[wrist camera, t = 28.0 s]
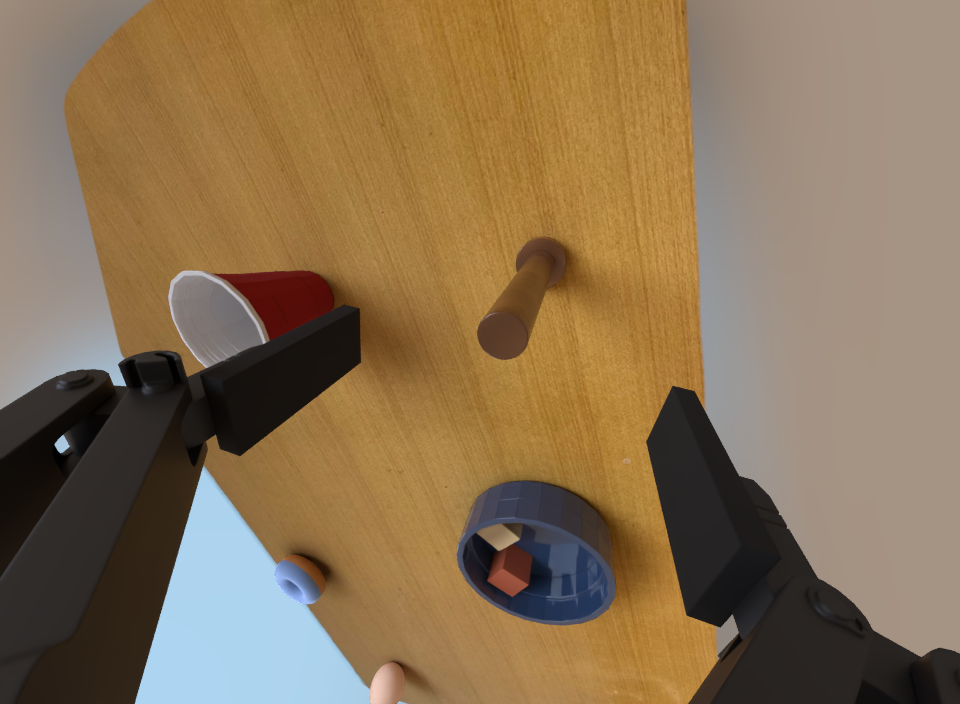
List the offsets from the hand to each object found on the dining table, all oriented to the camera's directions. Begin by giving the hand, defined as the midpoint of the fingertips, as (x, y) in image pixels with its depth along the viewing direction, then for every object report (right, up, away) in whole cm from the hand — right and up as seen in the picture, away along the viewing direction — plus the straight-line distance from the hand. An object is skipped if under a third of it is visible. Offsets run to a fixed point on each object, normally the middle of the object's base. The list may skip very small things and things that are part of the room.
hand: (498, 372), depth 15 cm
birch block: (+2, -20, +31) cm, 37 cm away
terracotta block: (+4, -28, +34) cm, 44 cm away
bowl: (+7, -23, +32) cm, 40 cm away
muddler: (+5, +9, +17) cm, 20 cm away
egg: (-19, -66, +60) cm, 91 cm away
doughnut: (-33, -40, +52) cm, 74 cm away
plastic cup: (-20, +7, +25) cm, 33 cm away
